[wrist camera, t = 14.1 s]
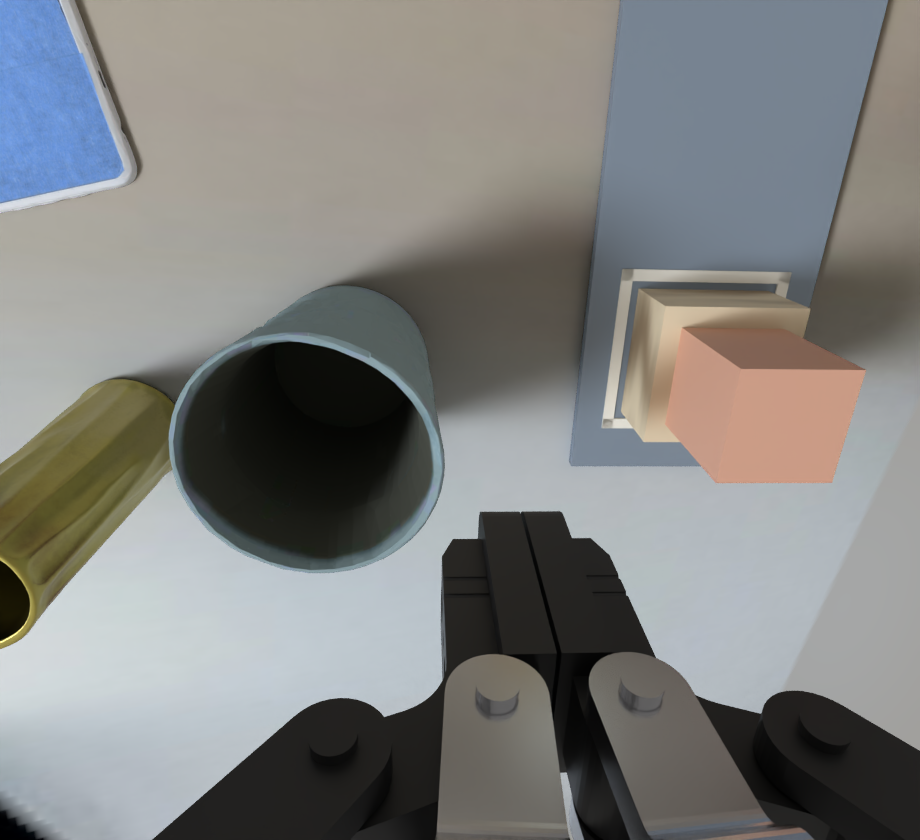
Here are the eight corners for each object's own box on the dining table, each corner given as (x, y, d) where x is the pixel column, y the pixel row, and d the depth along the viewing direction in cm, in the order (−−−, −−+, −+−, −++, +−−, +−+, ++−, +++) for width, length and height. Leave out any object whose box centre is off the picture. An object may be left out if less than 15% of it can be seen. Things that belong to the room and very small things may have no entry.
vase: (75, 367, 33) (-151, 508, 20) (193, 390, 34) (50, 540, 21) (74, 465, 36) (-129, 649, 22) (185, 485, 36) (51, 673, 23)
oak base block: (638, 288, 32) (665, 306, 29) (767, 290, 33) (810, 308, 29) (620, 411, 35) (643, 441, 32) (740, 412, 36) (776, 442, 32)
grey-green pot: (462, 413, 36) (479, 532, 25) (300, 468, 36) (246, 607, 25) (397, 241, 32) (383, 290, 21) (216, 308, 32) (110, 389, 21)
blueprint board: (625, -48, 27) (630, -53, 26) (888, -35, 28) (899, -39, 27) (569, 461, 37) (571, 466, 36) (763, 461, 38) (769, 467, 37)
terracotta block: (681, 327, 29) (740, 368, 24) (784, 328, 30) (866, 369, 24) (664, 424, 31) (716, 482, 26) (761, 424, 32) (831, 482, 26)
